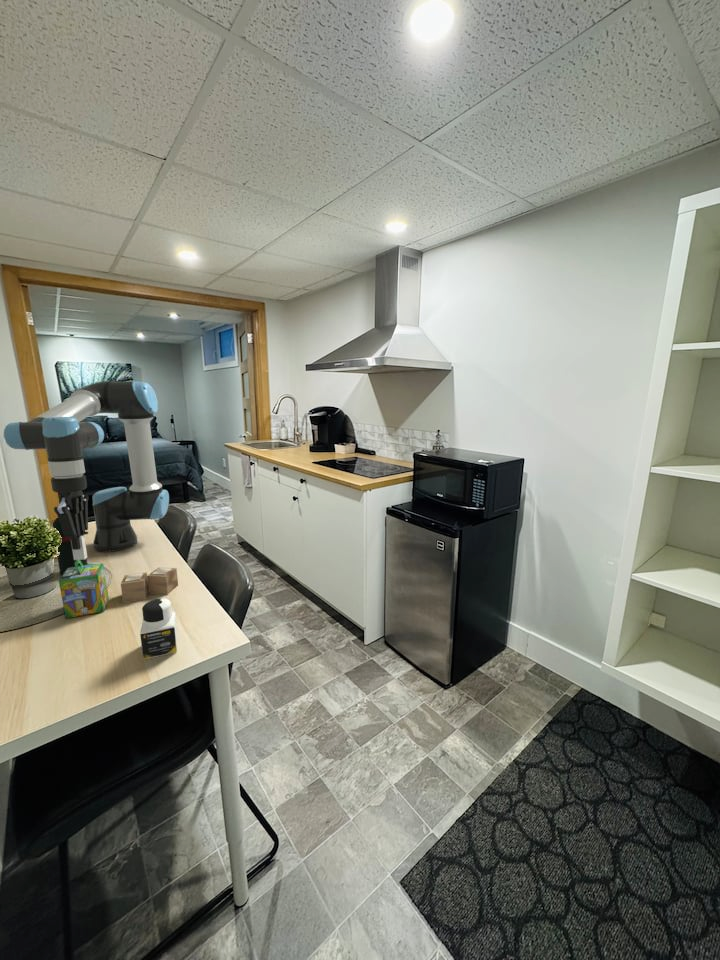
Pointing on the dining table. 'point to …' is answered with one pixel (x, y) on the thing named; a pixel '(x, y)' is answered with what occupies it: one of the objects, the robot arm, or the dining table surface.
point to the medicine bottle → (158, 629)
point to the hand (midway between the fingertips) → (80, 558)
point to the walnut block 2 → (162, 580)
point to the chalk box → (83, 589)
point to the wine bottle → (65, 550)
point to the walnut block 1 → (134, 587)
